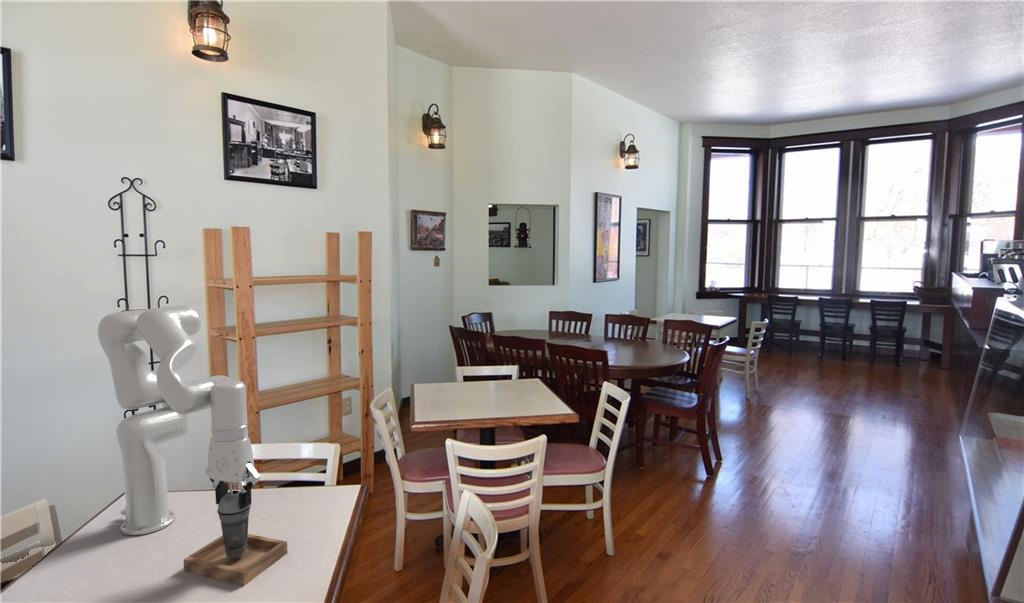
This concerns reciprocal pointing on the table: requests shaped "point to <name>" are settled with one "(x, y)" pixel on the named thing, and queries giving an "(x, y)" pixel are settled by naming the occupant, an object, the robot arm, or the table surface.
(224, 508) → the beverage cup
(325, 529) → the table surface
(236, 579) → the walnut tray
